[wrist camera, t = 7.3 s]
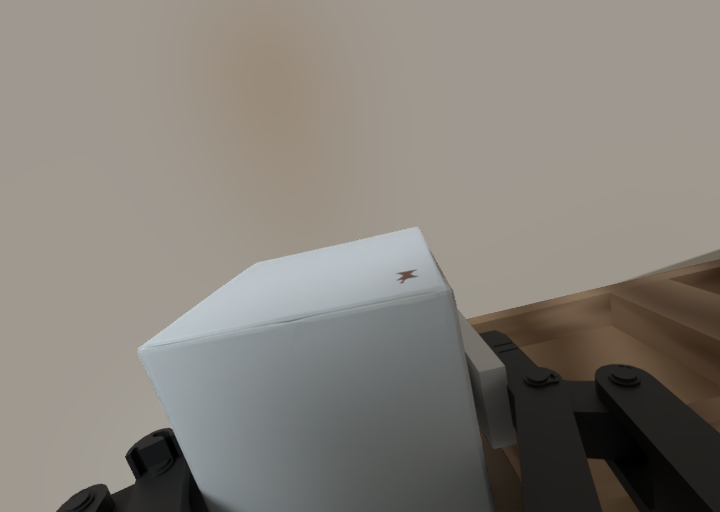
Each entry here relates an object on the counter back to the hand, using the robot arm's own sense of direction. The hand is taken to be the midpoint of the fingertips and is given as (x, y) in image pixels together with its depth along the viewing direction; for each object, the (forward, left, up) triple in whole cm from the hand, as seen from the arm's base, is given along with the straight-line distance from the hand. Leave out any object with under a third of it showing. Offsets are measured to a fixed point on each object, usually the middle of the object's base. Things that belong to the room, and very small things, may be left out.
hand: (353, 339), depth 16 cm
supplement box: (0, +5, -8) cm, 9 cm away
